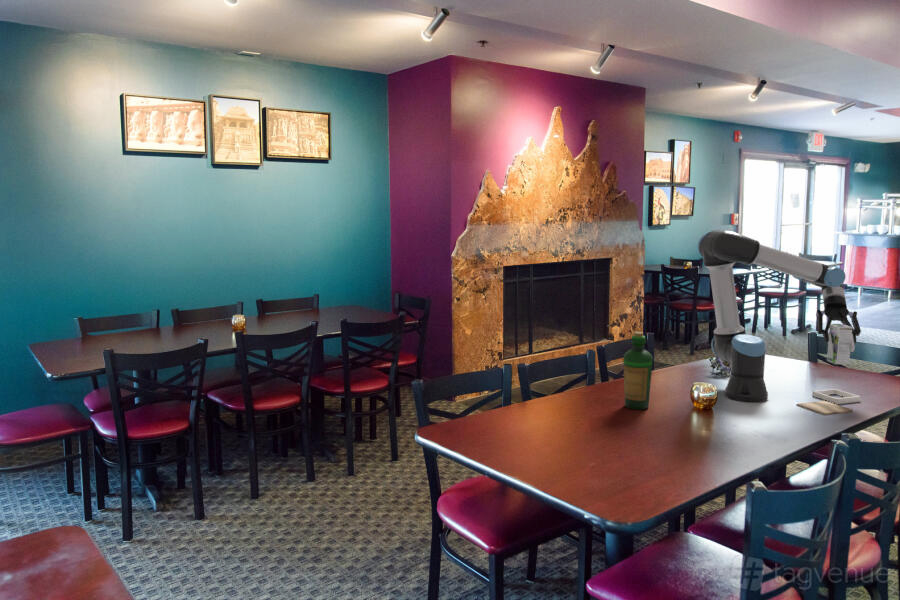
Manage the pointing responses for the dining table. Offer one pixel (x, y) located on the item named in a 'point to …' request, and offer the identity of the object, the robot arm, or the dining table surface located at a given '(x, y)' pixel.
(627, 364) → the bottle
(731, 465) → the dining table surface
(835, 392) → the white square frame
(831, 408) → the mat
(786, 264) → the robot arm
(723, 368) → the passion flower
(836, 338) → the syrup box
